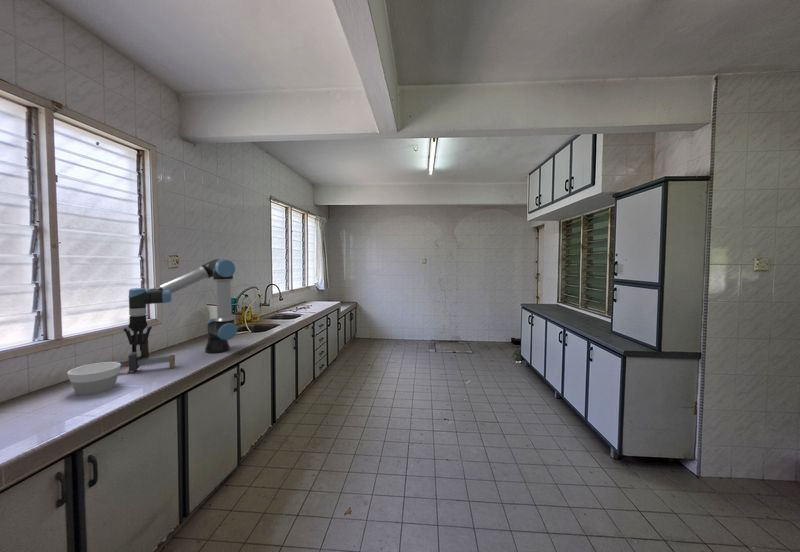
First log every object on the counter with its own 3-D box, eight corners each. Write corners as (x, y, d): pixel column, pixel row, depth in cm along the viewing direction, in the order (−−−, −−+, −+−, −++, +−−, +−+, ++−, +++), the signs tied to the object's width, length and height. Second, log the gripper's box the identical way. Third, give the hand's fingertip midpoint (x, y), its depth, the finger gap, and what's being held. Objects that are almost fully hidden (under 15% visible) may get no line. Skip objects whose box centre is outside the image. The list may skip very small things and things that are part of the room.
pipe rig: (175, 365, 196) (175, 353, 196) (173, 369, 188) (172, 357, 188) (111, 372, 182) (111, 359, 182) (106, 377, 174) (105, 364, 174)
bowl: (128, 386, 162) (127, 365, 162) (75, 401, 146) (75, 377, 145) (112, 379, 172) (112, 359, 172) (62, 391, 156) (61, 369, 155)
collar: (139, 366, 187) (139, 351, 187) (135, 370, 181) (135, 355, 180) (133, 367, 186) (132, 352, 186) (129, 371, 179) (128, 355, 179)
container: (153, 361, 202) (153, 333, 201) (140, 366, 193) (140, 336, 192) (140, 361, 203) (139, 332, 202) (127, 365, 194) (126, 336, 193)
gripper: (153, 313, 189) (154, 353, 190) (125, 314, 183) (126, 355, 184) (150, 315, 182) (151, 356, 184) (121, 317, 177) (122, 359, 178)
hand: (138, 356), depth 184 cm, fingers closed
